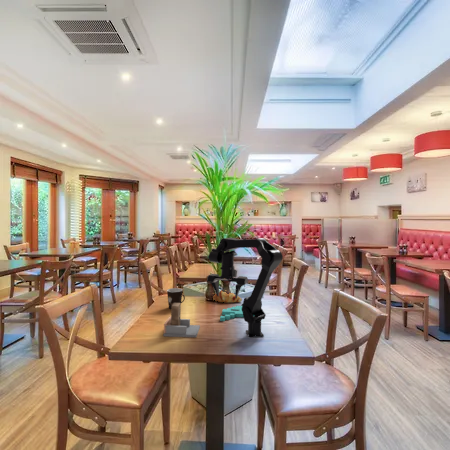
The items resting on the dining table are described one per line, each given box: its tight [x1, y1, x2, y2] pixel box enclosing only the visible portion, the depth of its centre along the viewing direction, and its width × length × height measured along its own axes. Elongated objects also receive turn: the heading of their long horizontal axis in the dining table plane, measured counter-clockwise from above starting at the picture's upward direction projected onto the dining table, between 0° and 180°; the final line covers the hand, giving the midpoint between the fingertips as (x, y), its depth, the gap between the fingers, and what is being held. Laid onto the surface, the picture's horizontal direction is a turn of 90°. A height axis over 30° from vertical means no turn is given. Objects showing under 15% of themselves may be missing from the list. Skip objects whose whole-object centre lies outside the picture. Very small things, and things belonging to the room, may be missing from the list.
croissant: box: [212, 289, 243, 304], centre depth 174 cm, size 21×10×8 cm, turn 76°
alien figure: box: [219, 305, 255, 322], centre depth 149 cm, size 20×2×20 cm
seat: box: [162, 315, 201, 338], centre depth 126 cm, size 14×11×5 cm
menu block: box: [170, 303, 182, 326], centre depth 126 cm, size 3×5×11 cm, turn 177°
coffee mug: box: [166, 287, 186, 310], centre depth 158 cm, size 12×9×10 cm
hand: (227, 297), depth 135 cm, fingers open, 9 cm apart
